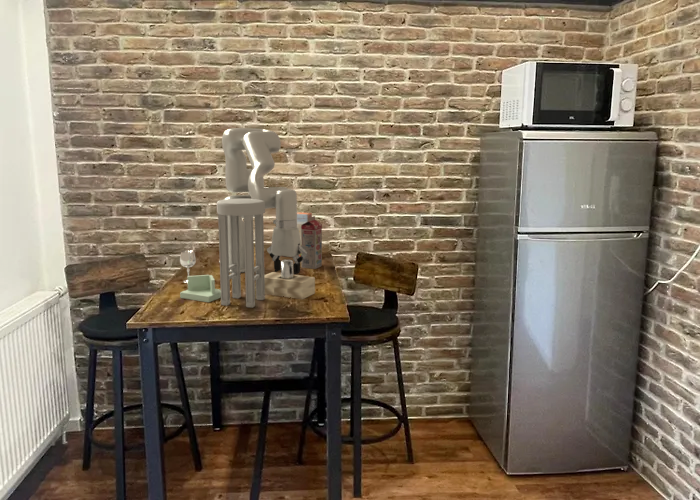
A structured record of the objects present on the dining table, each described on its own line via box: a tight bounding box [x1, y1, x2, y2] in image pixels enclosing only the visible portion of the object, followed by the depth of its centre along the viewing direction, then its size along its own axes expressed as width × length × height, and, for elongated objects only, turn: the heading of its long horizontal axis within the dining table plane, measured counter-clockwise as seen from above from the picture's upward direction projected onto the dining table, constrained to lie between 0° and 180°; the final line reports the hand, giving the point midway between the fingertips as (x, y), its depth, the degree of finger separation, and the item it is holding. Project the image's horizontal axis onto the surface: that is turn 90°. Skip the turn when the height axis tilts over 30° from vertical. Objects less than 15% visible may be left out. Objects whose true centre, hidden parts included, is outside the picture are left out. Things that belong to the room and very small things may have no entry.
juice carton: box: [301, 215, 323, 270], centre depth 254 cm, size 7×7×22 cm
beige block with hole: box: [264, 271, 316, 300], centre depth 213 cm, size 18×9×6 cm, turn 65°
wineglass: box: [179, 249, 197, 284], centre depth 228 cm, size 6×6×12 cm
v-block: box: [179, 274, 221, 303], centre depth 207 cm, size 10×12×7 cm
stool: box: [216, 198, 266, 308], centre depth 199 cm, size 16×16×35 cm
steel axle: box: [280, 259, 294, 280], centre depth 212 cm, size 4×4×12 cm
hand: (287, 272), depth 212 cm, fingers open, 7 cm apart
